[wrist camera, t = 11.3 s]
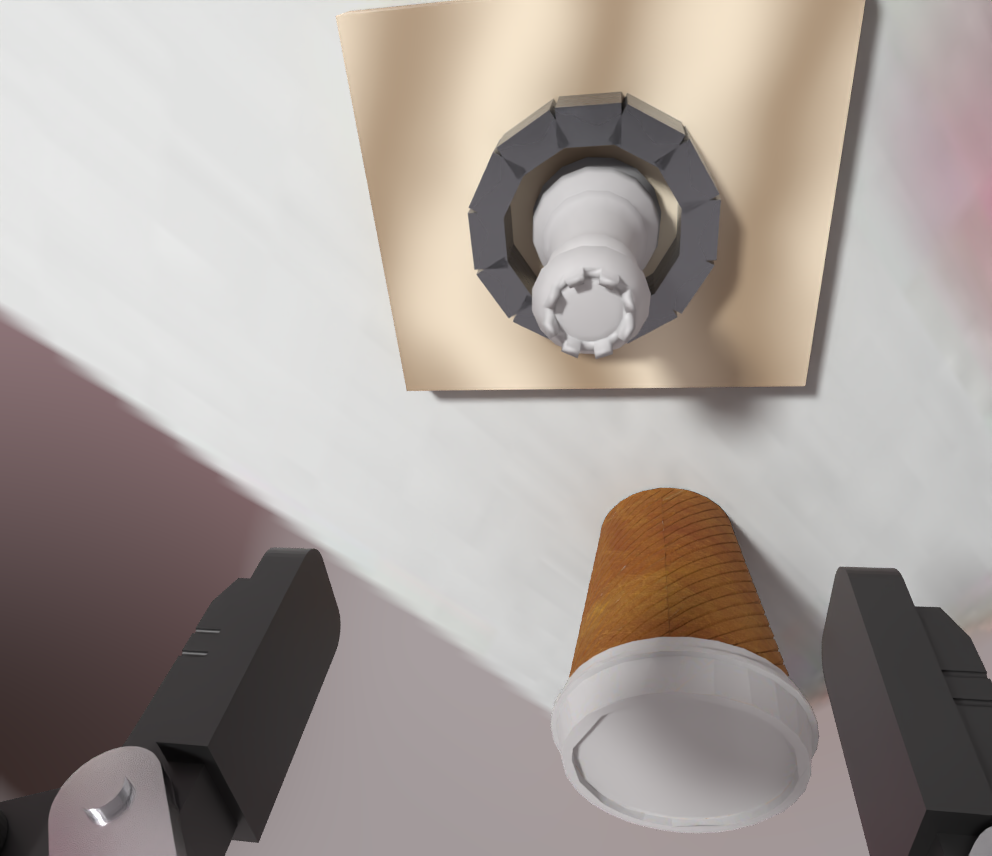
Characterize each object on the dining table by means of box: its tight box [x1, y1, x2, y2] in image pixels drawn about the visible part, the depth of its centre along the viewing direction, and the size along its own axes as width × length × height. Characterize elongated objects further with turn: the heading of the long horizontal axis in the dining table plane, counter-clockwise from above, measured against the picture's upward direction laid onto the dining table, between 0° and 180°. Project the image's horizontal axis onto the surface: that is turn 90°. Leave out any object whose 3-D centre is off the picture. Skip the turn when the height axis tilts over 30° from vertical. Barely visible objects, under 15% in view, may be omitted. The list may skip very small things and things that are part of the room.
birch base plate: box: [336, 0, 865, 391], centre depth 27 cm, size 16×14×2 cm
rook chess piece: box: [532, 157, 661, 359], centre depth 23 cm, size 4×4×8 cm
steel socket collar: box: [468, 92, 721, 344], centre depth 25 cm, size 8×8×2 cm
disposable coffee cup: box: [551, 488, 819, 833], centre depth 31 cm, size 10×10×12 cm
